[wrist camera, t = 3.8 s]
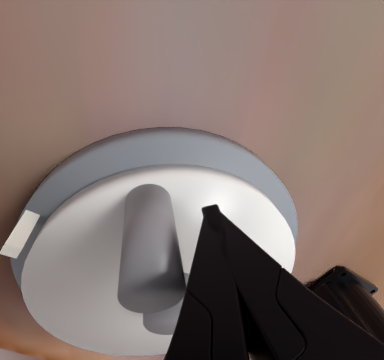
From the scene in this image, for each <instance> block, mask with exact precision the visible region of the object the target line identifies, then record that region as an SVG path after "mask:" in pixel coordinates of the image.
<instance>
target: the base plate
mask: <svg viewBox="0 0 384 360" xmlns="http://www.w3.org/2000/svg"><path fill="white" fill-rule="evenodd" d="M163 164H189V165H198V166H206V167H210V168H214V169H218V170H223V171H226V172H228V173H231V174H233V175H236V176H238V177H241V178H243V179H244V180H246V181H248V182H249V183H251V184H253V185H255V186H256V187H257V188H258V189H259V190H261V191H262V192H263V193H264V194H265V195H266V196H267V197H268V198H269V199H270V200H271V202H272V203H273V204H274V205H275V207H276V208H277V209H278V211H279V212H280V213H281V215H282V216H283V217H284V219H285V220H286V222H287V224H288V226H289V227H290V229H291V232H292V235H293V238H294V242H295V244H296V240H297V232H298V221H297V213H296V209H295V206H294V202H293V200H292V198H291V196H290V194H289V192H288V190H287V189H286V187H285V186H284V185H283V184H282V182H281V181H280V180H279V178H278V177H277V176H276V175H275V174H274V173H273V172H272V171H271V169H270V168H269V167H268V166H267V165H266V164H265V163H264V162H263V161H262V160H261V159H260V158H258V157H257V156H256V155H255V154H254V153H253V152H251V151H250V150H248V149H246V148H245V147H243V146H242V145H240V144H238V143H236V142H234V141H232V140H230V139H227V138H225V137H223V136H220V135H216V134H213V133H209V132H206V131H202V130H195V129H188V128H178V127H157V128H147V129H138V130H133V131H129V132H125V133H120V134H116V135H113V136H110V137H108V138H105V139H102V140H100V141H97V142H94V143H92V144H90V145H88V146H87V147H85V148H83V149H81V150H79V151H77V152H75V153H74V154H72V155H71V156H70V157H68V158H67V159H66V160H64V161H63V162H62V163H60V164H59V165H57V166H56V168H55V169H54V170H53V171H52V172H51V173H50V174H49V175H48V176H47V177H46V178H45V179H44V180H43V181H42V183H41V184H40V185H39V187H38V188H37V190H36V191H35V193H34V194H33V196H32V197H31V199H30V200H29V202H28V203H27V205H26V206H25V208H24V209H23V211H22V213H21V214H20V217H19V219H18V221H17V223H16V225H15V228H14V230H13V231H12V233H11V234H10V236H9V238H8V239H7V241H6V242H5V244H4V246H3V247H2V249H1V251H0V254H2V255H5V256H9V257H10V262H11V266H12V270H13V275H14V277H15V279H16V281H17V283H18V286H19V288H20V289H21V275H22V271H23V267H24V263H25V260H26V258H27V256H28V254H29V252H30V250H31V248H32V246H33V244H34V242H35V240H36V238H37V236H38V234H39V232H40V230H41V228H42V226H43V225H44V224H45V222H46V221H47V220H48V218H49V217H50V216H51V215H52V213H53V212H54V211H55V210H56V209H58V208H59V207H60V206H61V205H62V204H63V203H64V202H65V201H66V200H67V199H69V198H70V197H72V196H73V195H75V194H76V193H78V192H79V191H80V190H82V189H84V188H86V187H88V186H89V185H91V184H93V183H95V182H97V181H99V180H101V179H104V178H107V177H109V176H112V175H115V174H118V173H120V172H124V171H128V170H132V169H136V168H141V167H146V166H155V165H163Z"/></svg>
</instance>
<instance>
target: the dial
mask: <svg viewBox="0 0 384 360" xmlns="http://www.w3.org/2000/svg"><path fill="white" fill-rule="evenodd" d="M213 204H217V205H218V206H219V209H220V211H221V213H223V214H224V215H225V216H226V217H227V218H228V219H229V220H230V221H232V222H233V223H234V224H235V225H236V226H237V227H238V228H239V229H241V230H242V231H243V232H244V233H245V234H246V235H247V236H248V237H250V238H251V239H252V240H253V241H254V242H255V243H256V244H258V245H259V246H260V247H261V248H262V249H263V250H264V251H265V252H267V253H268V254H269V255H270V256H271V257H272V258H273V259H274V260H276V261H277V262H278V263H279V264H280V265H281V266H282V268H285V269H286V270H287V271H288V272H289V273H290V274H291V272H292V269H293V265H294V261H295V242H294V238H293V235H292V232H291V229H290V227H289V226H288V224H287V222H286V220H285V219H284V217H283V216H282V215H281V213H280V212H279V211H278V209H277V208H276V207H275V205H274V204H273V203H272V202H271V200H270V199H269V198H268V197H267V196H266V195H265V194H264V193H263V192H262V191H261V190H259V189H258V188H257V187H256V186H255V185H253V184H251V183H249V182H248V181H246V180H244V179H243V178H241V177H238V176H236V175H233V174H231V173H228V172H226V171H223V170H218V169H214V168H210V167H206V166H198V165H189V164H163V165H155V166H146V167H141V168H136V169H132V170H128V171H124V172H120V173H118V174H115V175H112V176H109V177H107V178H104V179H101V180H99V181H97V182H95V183H93V184H91V185H89V186H88V187H86V188H84V189H82V190H80V191H79V192H78V193H76V194H75V195H73V196H72V197H70V198H69V199H67V200H66V201H65V202H64V203H63V204H62V205H61V206H60V207H59V208H58V209H56V210H55V211H54V212H53V213H52V215H51V216H50V217H49V218H48V220H47V221H46V222H45V224H44V225H43V226H42V228H41V230H40V232H39V234H38V236H37V238H36V240H35V242H34V244H33V246H32V248H31V250H30V252H29V254H28V256H27V258H26V260H25V263H24V267H23V271H22V275H21V290H22V295H23V300H24V302H25V304H26V307H27V309H28V311H29V312H30V314H31V315H32V316H33V318H34V319H35V321H36V322H37V323H38V324H39V325H40V326H42V327H43V328H44V329H45V330H46V331H47V332H49V333H50V334H52V335H53V336H55V337H56V338H58V339H60V340H62V341H64V342H66V343H68V344H71V345H73V346H76V347H78V348H81V349H85V350H88V351H92V352H97V353H102V354H109V355H118V356H149V355H160V354H166V353H167V350H168V347H169V345H170V342H171V339H172V336H173V333H174V330H175V327H176V324H177V320H178V317H179V313H180V309H181V306H182V302H183V298H184V294H185V292H186V286H187V282H188V278H189V274H190V269H191V265H192V261H193V257H194V253H195V249H196V245H197V241H198V236H199V232H200V228H201V224H202V220H203V214H202V210H201V209H202V207H205V206H209V205H213Z"/></svg>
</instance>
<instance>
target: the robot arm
mask: <svg viewBox="0 0 384 360" xmlns="http://www.w3.org/2000/svg"><path fill="white" fill-rule="evenodd" d="M201 210H202V214H203V220H202V224H201V228H200V232H199V236H198V241H197V245H196V249H195V253H194V257H193V261H192V265H191V269H190V274H189V278H188V282H187V286H186V292H185V294H184V298H183V302H182V306H181V309H180V313H179V317H178V320H177V324H176V327H175V330H174V333H173V336H172V339H171V342H170V345H169V347H168V350H167V353H166V355H165V358H164V360H250V359H249V355H250V358H251V360H384V310H383V308H382V307H381V306H380V305H379V304H378V303H377V301H376V300H375V299H374V298H373V297H372V296H371V295H373V294H374V293H376V292H377V291H378V288H377V287H376V286H375V285H374V284H372V283H371V282H369V281H367V280H366V279H364V278H363V277H361V276H359V275H358V274H356V273H354V272H353V271H351V270H349V269H348V268H346V267H344V266H343V267H339V268H337V269H336V270H335V271H333V272H332V273H331V274H329V275H328V276H327V277H325V278H324V279H323V280H321V281H320V282H319V283H317V284H316V285H315V286H313V287H312V288H310V289H308V288H307V287H306V286H304V285H303V284H302V283H301V282H300V281H299V280H297V279H296V278H295V277H294V276H293V275H292V274H290V273H289V272H288V271H287V270H286V269H285V268H282V266H281V265H280V264H279V263H278V262H277V261H276V260H274V259H273V258H272V257H271V256H270V255H269V254H268V253H267V252H265V251H264V250H263V249H262V248H261V247H260V246H259V245H258V244H256V243H255V242H254V241H253V240H252V239H251V238H250V237H248V236H247V235H246V234H245V233H244V232H243V231H242V230H241V229H239V228H238V227H237V226H236V225H235V224H234V223H233V222H232V221H230V220H229V219H228V218H227V217H226V216H225V215H224V214H223V213H221V211H220V209H219V206H218V205H217V204H213V205H209V206H205V207H202V209H201ZM248 352H249V353H248Z"/></svg>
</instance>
